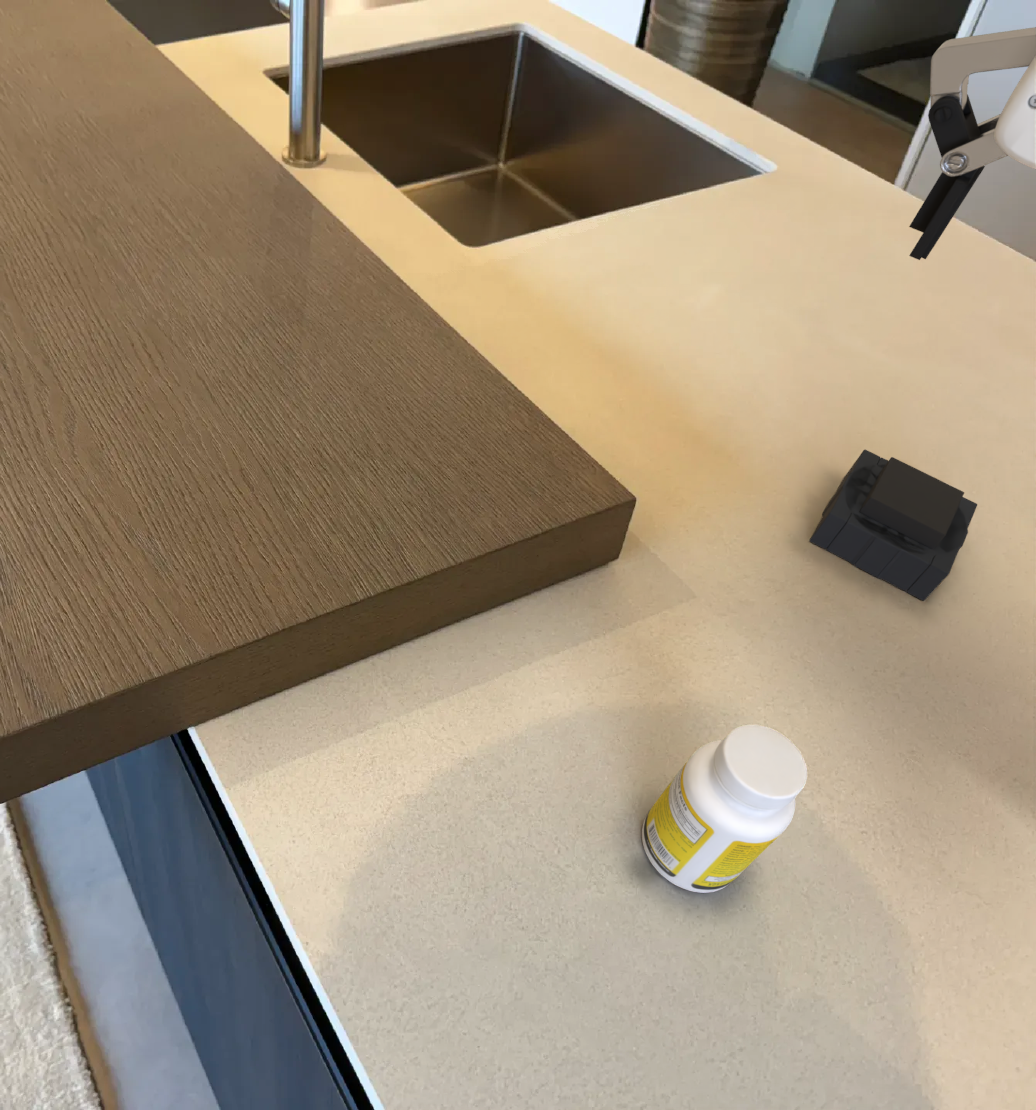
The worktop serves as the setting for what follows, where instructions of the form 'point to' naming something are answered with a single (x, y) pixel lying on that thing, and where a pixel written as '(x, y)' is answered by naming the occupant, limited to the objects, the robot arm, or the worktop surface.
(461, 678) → the worktop surface
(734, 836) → the supplement bottle
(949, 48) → the robot arm
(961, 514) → the base pad
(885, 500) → the top pad
